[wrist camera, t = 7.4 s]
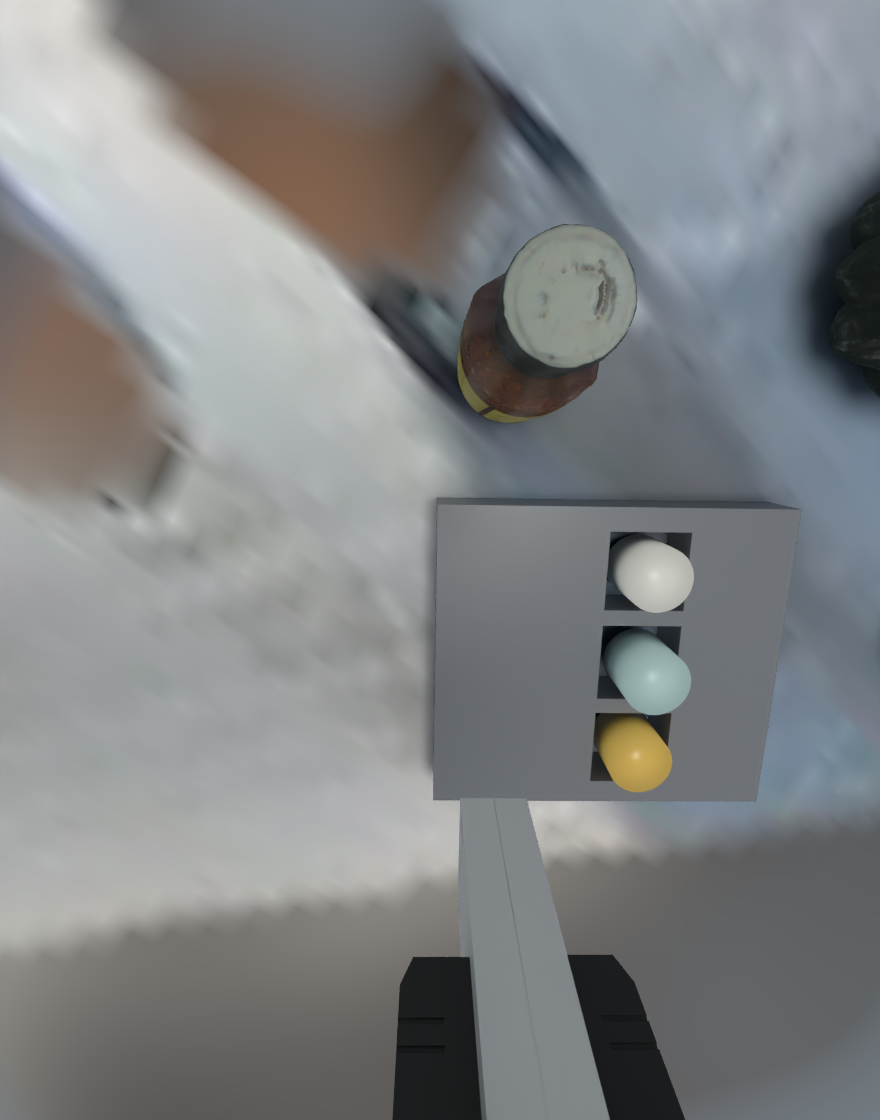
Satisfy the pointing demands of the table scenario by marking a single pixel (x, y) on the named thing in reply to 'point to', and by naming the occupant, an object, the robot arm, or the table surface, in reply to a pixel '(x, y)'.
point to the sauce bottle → (546, 324)
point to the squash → (860, 296)
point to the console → (575, 645)
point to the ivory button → (650, 573)
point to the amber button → (632, 751)
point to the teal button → (647, 672)
